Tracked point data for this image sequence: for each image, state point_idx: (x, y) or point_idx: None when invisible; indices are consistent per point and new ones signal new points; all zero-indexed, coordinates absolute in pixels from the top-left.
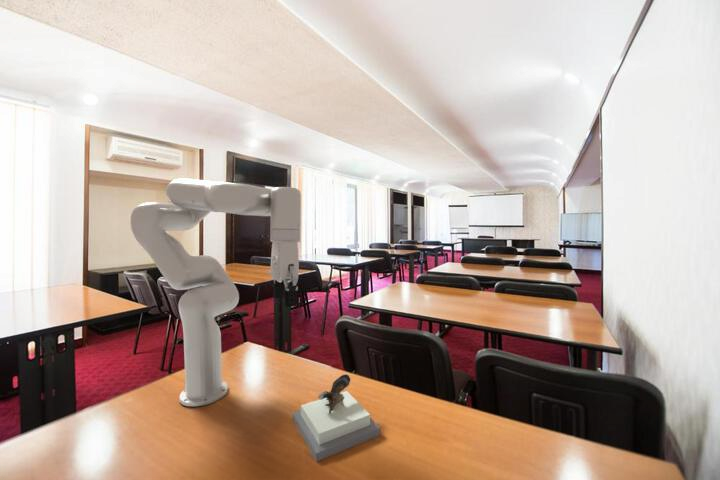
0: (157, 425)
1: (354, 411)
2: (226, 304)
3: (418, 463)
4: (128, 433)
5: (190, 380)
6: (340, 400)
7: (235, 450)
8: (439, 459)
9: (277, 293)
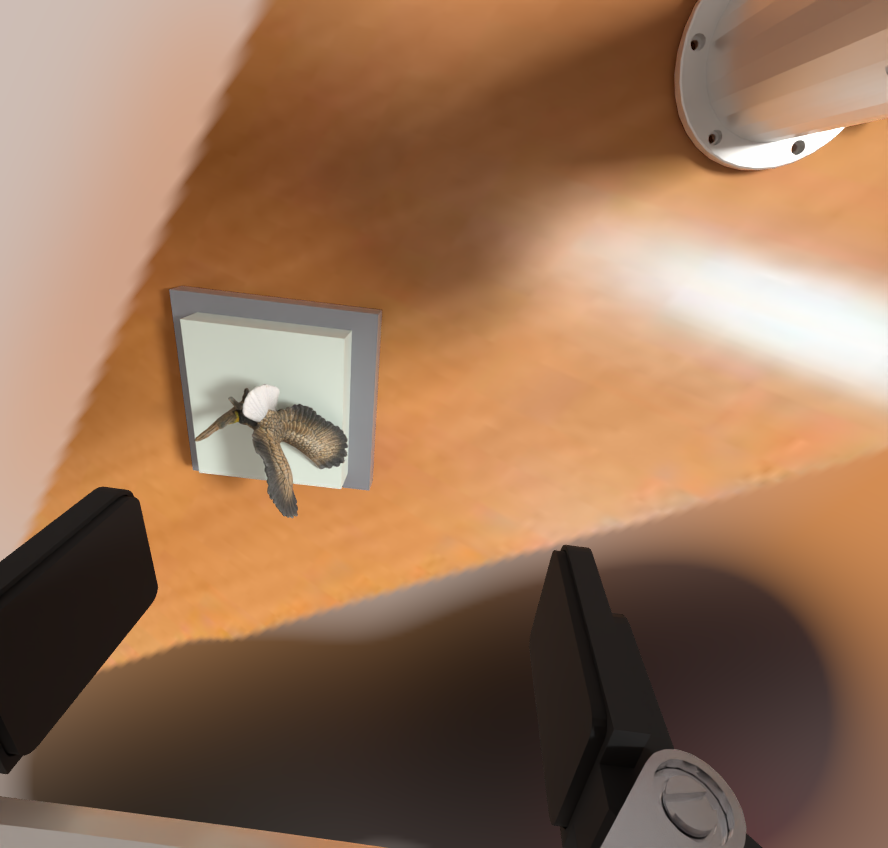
0: None
1: (232, 449)
2: None
3: (88, 465)
4: None
5: None
6: (206, 429)
7: (333, 91)
8: None
9: (556, 614)
